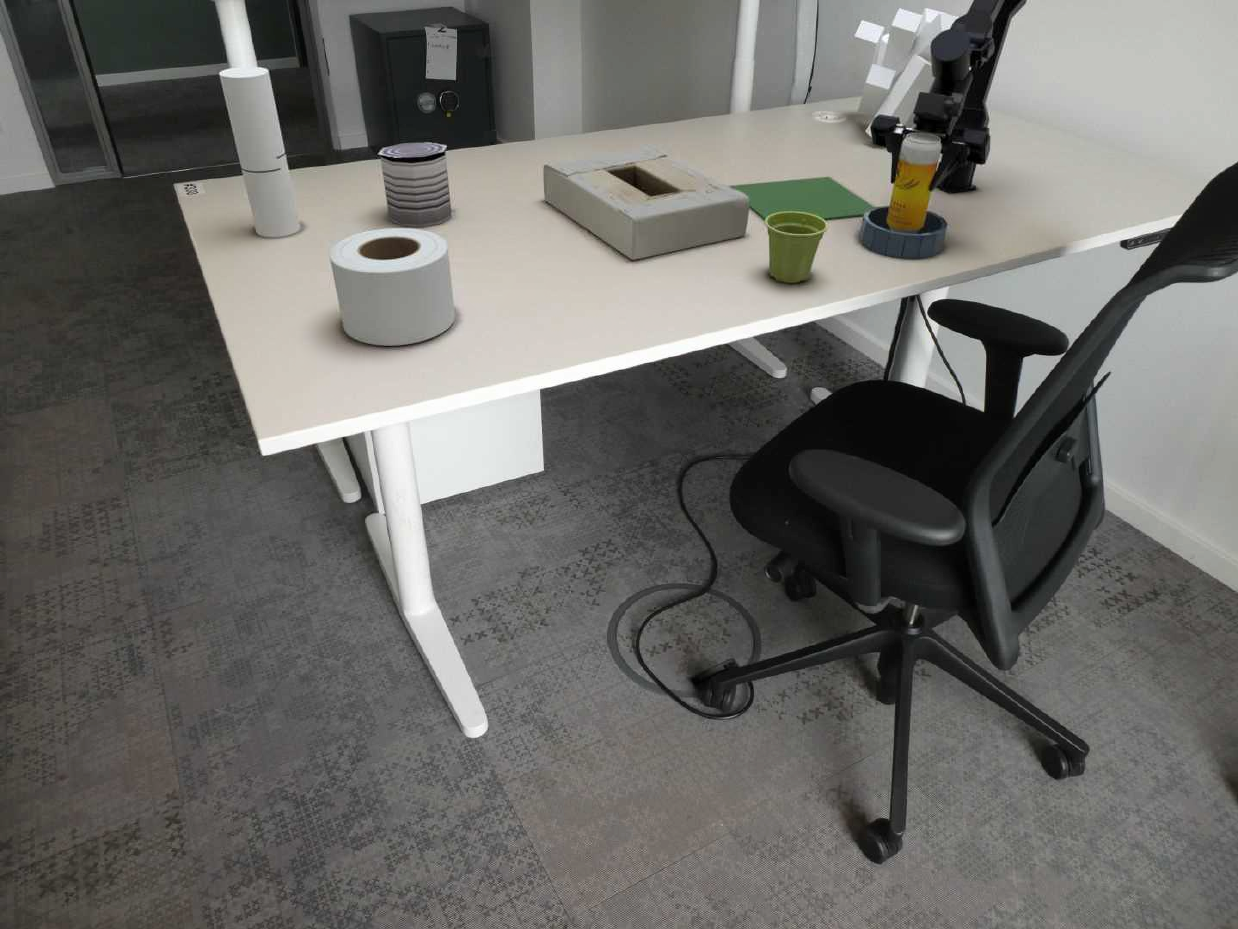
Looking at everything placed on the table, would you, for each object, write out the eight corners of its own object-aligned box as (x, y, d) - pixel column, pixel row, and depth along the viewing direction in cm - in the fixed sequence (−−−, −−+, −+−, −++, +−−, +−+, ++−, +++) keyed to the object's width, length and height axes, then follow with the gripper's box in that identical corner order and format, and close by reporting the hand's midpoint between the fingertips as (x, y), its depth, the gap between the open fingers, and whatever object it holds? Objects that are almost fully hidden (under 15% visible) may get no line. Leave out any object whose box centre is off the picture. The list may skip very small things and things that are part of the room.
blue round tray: (909, 223, 157) (914, 201, 155) (958, 252, 147) (964, 229, 144) (844, 232, 153) (848, 210, 151) (889, 263, 143) (894, 239, 140)
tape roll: (344, 300, 128) (330, 229, 122) (450, 292, 131) (443, 222, 125) (341, 352, 116) (327, 276, 110) (459, 341, 119) (451, 266, 113)
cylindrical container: (308, 224, 151) (278, 69, 136) (283, 239, 146) (248, 79, 131) (273, 219, 153) (239, 64, 138) (247, 233, 148) (208, 74, 133)
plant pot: (818, 291, 134) (827, 236, 128) (756, 285, 135) (763, 230, 130) (819, 266, 141) (828, 214, 136) (761, 260, 142) (767, 208, 137)
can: (386, 228, 150) (375, 157, 143) (389, 205, 159) (380, 137, 152) (453, 226, 152) (446, 155, 145) (453, 202, 161) (446, 135, 154)
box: (748, 236, 151) (647, 180, 173) (753, 192, 146) (648, 140, 168) (634, 265, 141) (542, 202, 163) (635, 219, 136) (540, 160, 158)
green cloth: (827, 178, 176) (828, 176, 176) (880, 214, 160) (881, 211, 160) (726, 188, 170) (726, 185, 170) (771, 225, 155) (771, 223, 155)
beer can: (880, 221, 151) (898, 131, 142) (915, 220, 151) (935, 131, 142) (892, 235, 146) (911, 143, 137) (927, 234, 146) (949, 142, 137)
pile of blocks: (798, 138, 216) (803, 9, 185) (889, 76, 220) (910, -60, 190) (901, 217, 200) (925, 91, 169) (997, 149, 205) (1037, 14, 174)
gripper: (885, 61, 140) (849, 149, 139) (1005, 78, 133) (969, 171, 132) (890, 101, 151) (857, 184, 150) (1003, 119, 143) (968, 206, 142)
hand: (910, 185), depth 143 cm, fingers closed on beer can, 6 cm apart
